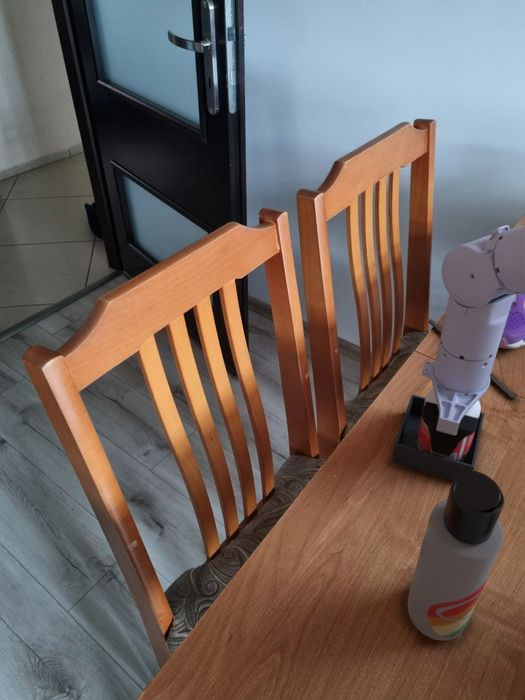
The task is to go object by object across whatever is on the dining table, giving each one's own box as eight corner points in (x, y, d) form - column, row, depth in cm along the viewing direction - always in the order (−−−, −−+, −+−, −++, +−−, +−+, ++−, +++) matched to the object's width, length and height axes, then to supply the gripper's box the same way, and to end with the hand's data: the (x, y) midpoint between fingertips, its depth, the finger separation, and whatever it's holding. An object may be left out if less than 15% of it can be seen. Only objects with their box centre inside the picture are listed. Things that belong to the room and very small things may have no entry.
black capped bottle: (474, 642, 52) (531, 522, 39) (412, 642, 52) (449, 523, 39) (458, 583, 56) (505, 457, 43) (401, 583, 56) (431, 459, 43)
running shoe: (457, 351, 83) (471, 296, 76) (482, 272, 98) (495, 220, 92) (525, 368, 80) (546, 313, 73) (540, 283, 95) (559, 231, 88)
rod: (513, 397, 74) (517, 396, 74) (428, 319, 88) (432, 318, 88) (512, 401, 75) (516, 399, 75) (427, 323, 88) (431, 322, 88)
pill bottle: (448, 424, 71) (464, 360, 64) (478, 460, 67) (499, 395, 60) (406, 439, 70) (418, 374, 63) (433, 475, 66) (449, 411, 58)
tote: (478, 431, 71) (484, 412, 69) (468, 485, 65) (474, 467, 63) (408, 412, 74) (411, 394, 72) (391, 462, 68) (394, 444, 66)
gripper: (442, 297, 64) (425, 382, 73) (414, 378, 54) (398, 465, 63) (507, 310, 61) (481, 396, 70) (491, 397, 52) (463, 485, 60)
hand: (446, 430), depth 66 cm, fingers closed on pill bottle, 6 cm apart
